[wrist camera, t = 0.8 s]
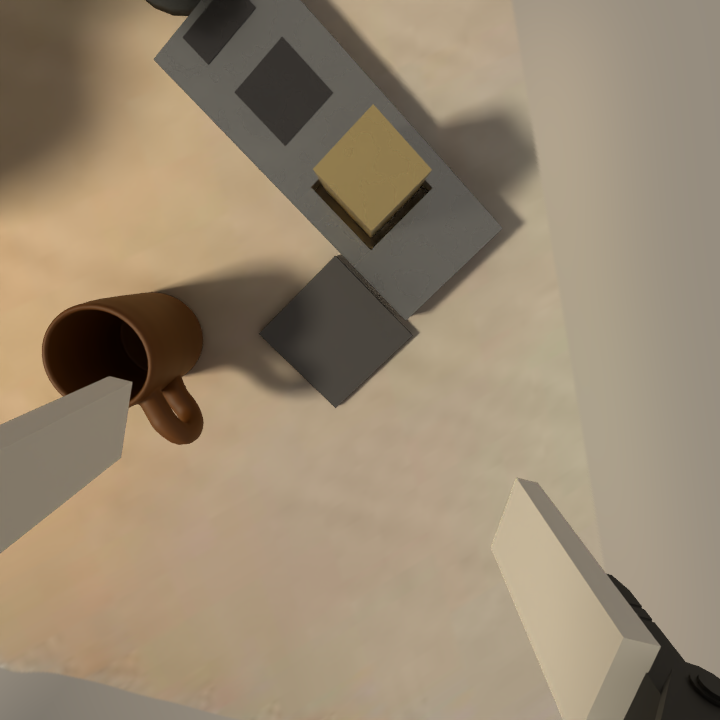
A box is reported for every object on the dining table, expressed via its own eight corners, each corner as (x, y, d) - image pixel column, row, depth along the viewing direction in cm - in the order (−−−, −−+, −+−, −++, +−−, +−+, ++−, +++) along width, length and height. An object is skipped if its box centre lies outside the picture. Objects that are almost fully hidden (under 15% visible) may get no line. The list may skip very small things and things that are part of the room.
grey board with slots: (165, 70, 34) (153, 58, 32) (255, -40, 32) (248, -60, 30) (403, 317, 38) (405, 320, 36) (495, 229, 36) (503, 228, 34)
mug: (258, 383, 39) (224, 420, 30) (194, 433, 40) (142, 485, 31) (162, 272, 37) (95, 276, 28) (98, 328, 39) (13, 350, 29)
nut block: (326, 191, 36) (312, 169, 27) (372, 143, 35) (373, 104, 26) (370, 238, 36) (371, 231, 28) (416, 191, 36) (432, 169, 27)
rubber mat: (260, 332, 38) (258, 333, 38) (335, 255, 37) (335, 255, 36) (336, 405, 40) (335, 408, 39) (411, 334, 38) (412, 335, 37)
